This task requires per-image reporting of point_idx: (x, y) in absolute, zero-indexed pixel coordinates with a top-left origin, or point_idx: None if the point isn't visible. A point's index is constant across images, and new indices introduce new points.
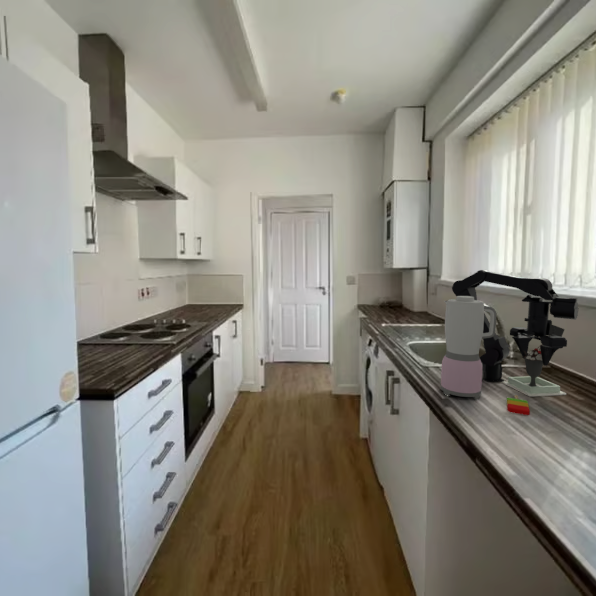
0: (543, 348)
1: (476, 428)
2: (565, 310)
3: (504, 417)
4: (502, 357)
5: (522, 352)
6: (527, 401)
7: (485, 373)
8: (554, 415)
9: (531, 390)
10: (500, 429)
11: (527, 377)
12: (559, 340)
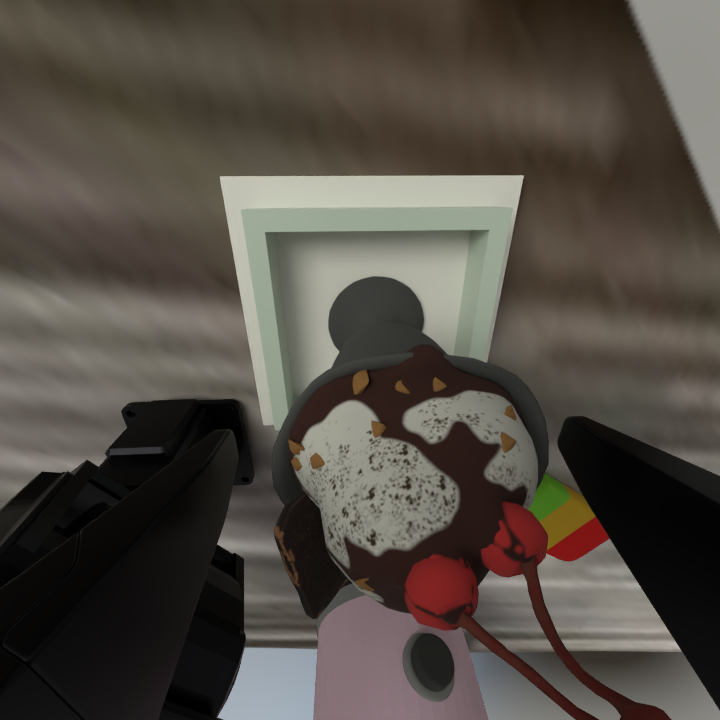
0: None
1: (599, 634)
2: None
3: (586, 573)
4: (240, 606)
5: (214, 538)
6: (553, 487)
7: (453, 675)
8: (658, 446)
9: None
10: (630, 604)
11: (275, 304)
12: None
